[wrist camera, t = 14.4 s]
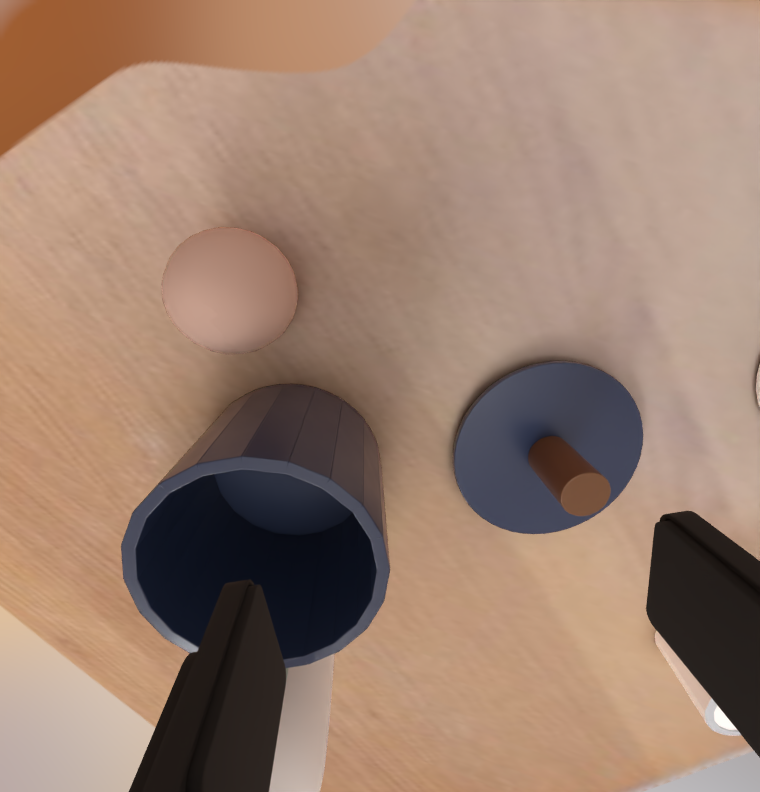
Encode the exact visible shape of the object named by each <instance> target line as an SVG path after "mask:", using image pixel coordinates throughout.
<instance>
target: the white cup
mask: <svg viewBox="0 0 760 792" xmlns="http://www.w3.org/2000/svg"><path fill="white" fill-rule="evenodd" d="M655 643H656V645H657V646H658V648H659V649H660V651H661V653H662V654H663V656H664V657H665V659H666V661H667V662H668V664H669V665H670V667H671V668H672V670H673V672H674V673H675V675H676V676H677V678H678V679H679V681H680V683H681V684H682V686H683V687H684V689H685V691H686V692H687V694H688V695H689V697H690V698H691V700H692V702H693V703H694V705H695V706H696V708H697V709H698V711H699V713H700V714H701V716H702V717H703V719H704V721H705V722H706V723H707V725H708V726H709V727H710V728H711V729H712V730H713V731H715V732H718V733H720V734H723V735H741V734H740V733H739V731H738V730H737V729H736V728H735V726H734V725H733V724H732V723H731V721H730V720H729V719H728V718H727V717H726V715H725V714H724V713H723V712H722V710H721V709H720V708H719V707H718V705H717V704H716V703H715V702H714V701H713V699H712V698H711V697H710V696H709V694H708V693H707V692H706V691H705V689H704V688H703V687H702V686H701V684H700V683H699V682H698V681H697V680H696V678H695V677H694V676H693V675H692V673H691V672H690V671H689V670H688V668H687V667H686V666H685V665H684V664H683V662H682V661H681V660H680V659H679V657H678V656H677V655H676V654H675V652H674V651H673V650H672V649H671V648H670V646H669V645H668V644H667V643H666V641H665V640H664V639H663V638H662V636H661V635H660V634H659V633H658V631H657V630H656V632H655Z"/></svg>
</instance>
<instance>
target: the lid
mask: <svg viewBox="0 0 760 792" xmlns="http://www.w3.org/2000/svg"><path fill="white" fill-rule="evenodd" d="M642 445H643V428H642V421H641V417H640V413H639V410H638V408H637V406H636V403H635V401H634V400H633V398H632V397H631V395H630V393H629V392H628V391H627V390H626V389H625V388H624V386H623V385H622V384H621V383H619V382H618V381H617V380H616V379H614V378H613V377H612V376H610V375H608V374H607V373H605V372H603V371H601V370H599V369H597V368H594V367H592V366H589V365H586V364H582V363H578V362H570V361H548V362H542V363H536V364H533V365H530V366H526V367H523V368H521V369H518V370H516V371H514V372H511V373H509V374H508V375H506V376H504V377H502V378H501V379H499V380H498V381H496V382H495V383H494V384H492V385H491V386H490V387H488V388H487V389H486V390H485V391H484V392H483V393H482V394H481V395H480V396H479V397H478V398H477V399H476V401H475V402H474V403H473V404H472V405H471V407H470V408H469V410H468V411H467V413H466V414H465V416H464V418H463V420H462V422H461V424H460V426H459V429H458V432H457V435H456V438H455V443H454V448H453V468H454V474H455V478H456V481H457V484H458V486H459V489H460V491H461V493H462V495H463V497H464V498H465V500H466V501H467V503H468V504H469V505H470V507H471V508H472V509H473V510H474V511H475V512H476V513H477V514H478V515H480V516H481V517H482V518H483V519H485V520H487V521H488V522H490V523H491V524H493V525H496V526H498V527H500V528H502V529H506V530H509V531H512V532H518V533H525V534H545V533H551V532H557V531H561V530H565V529H568V528H571V527H573V526H576V525H579V524H581V523H583V522H585V521H587V520H589V519H590V518H592V517H594V516H595V515H597V514H598V513H600V512H601V511H602V510H604V509H605V508H606V507H607V506H609V505H610V504H611V503H612V502H613V501H614V500H615V499H616V498H617V497H618V496H619V494H620V493H621V492H622V491H623V489H624V488H625V487H626V485H627V484H628V482H629V481H630V479H631V478H632V476H633V473H634V471H635V469H636V467H637V464H638V462H639V459H640V455H641V450H642Z"/></svg>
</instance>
